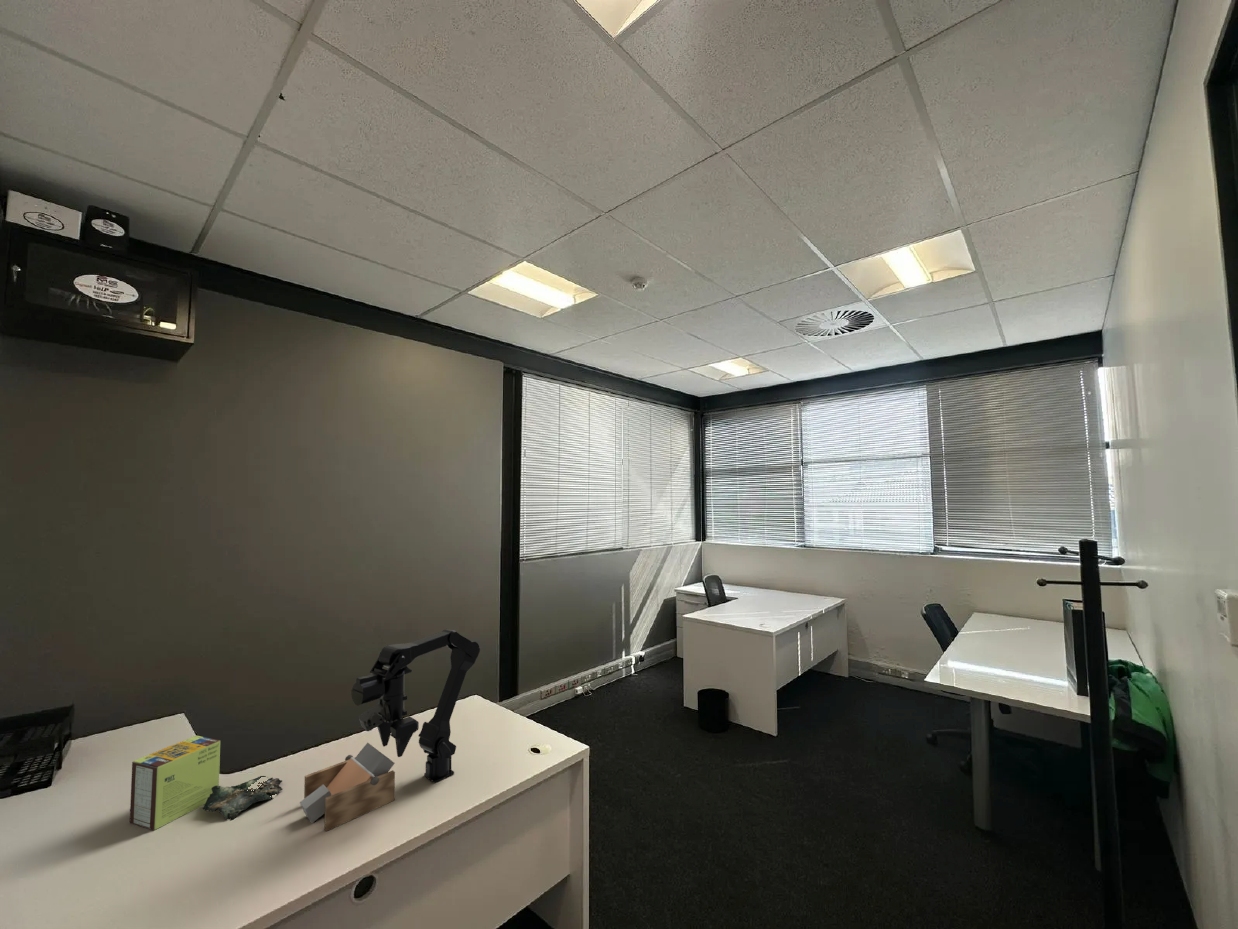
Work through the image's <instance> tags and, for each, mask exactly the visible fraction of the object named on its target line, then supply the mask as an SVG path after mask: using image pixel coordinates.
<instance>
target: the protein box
mask: <svg viewBox="0 0 1238 929" xmlns="http://www.w3.org/2000/svg"><path fill="white" fill-rule="evenodd" d="M220 755H221V740H220V739H215V738H210V737H206V736H200V735H194V736H191V737H189V738H187V739H185V740H182V741H180V742H177V743H175V744H172V745H169V746H167V747H164V748H162V749H159V750H158V751H155V752H151V753H149V754H147V755H145V756H141V757H140V758H137V759H134V760H133V761H132V762H131V763H132V764H131V779H130V780H131V781H130V782H131V784H130V786H131V787H130V788H131V789H130V804H129V805H130V806H129V807H130V808H129V824H132V825H136V826H138V827H139V826H140V827H143V828H146V829H149V830H152V831H156V830H157V829H160V828H162V827H164V826H165V825H167V824H169V823H171V822H173V821H176V820H177V819H179V818H181V817H182V816H185V815H187V814H189V813H190V812H193V811H194V810H196V809H198V808H200V807H202V806H204V805H205V803H206V801H207V798H208V797H209V796H210V794H212V793H213V792H212V787H214V786H220V764H221V762H220V761H221V756H220Z"/></svg>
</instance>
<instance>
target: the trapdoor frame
mask: <svg viewBox="0 0 1238 929" xmlns="http://www.w3.org/2000/svg"><path fill="white" fill-rule="evenodd" d="M351 757H353V758H354V759H355V757H356V756H353V755H352V754H348V755H347V756H345V759H344V760H343V761H341V762H339V763H335V764H333V765H330V766H328V767H325V768H321V769H320V770H317V771H314V772H312V773H308V774H305V775H304V788H303V789H304V790H303V791H304V792H303V794H304V795H303V799H305V798H306V797H307V796H309V795H310V794H311V793H313V792H314V791H315V790H317V789H318V788H319V787H320V786H322V785H323V784H324V786H325V787H326V788H327V787H328V785H329V784H330V783H331V782H332V780H333V779H334V778H335V777H336V775H337V774H338V773H339V772H340V771H341V769H342V768H343V767H344V766H345V764H346V763H347V762H348V761H349V760H350V758H351ZM395 773H396V772H395V771H394V770H389V772H388V773H385V774H383V775H380V776H378V777H377V776H374V777H373V778H372V779H370V780H368V781H366V782H363V783H361V784H358V785H356V786H353V787H351V788H348V789H346V790H344V791H341V792H339V793H336V794H334V795H331V796H329V797H327V798H325V813H324V830H325V832H327V831H330V830H333V829H334V828H336V827H337V828H338V826H341V825H343V824H346V823H347V822H350V821H353V820H355V819H357V818H359V817H361V816H363V815H365V814H367V813H370V812H372V811H374V810H376V809H378V808H380V807H383V806H385V805H387V804H389V803H391V802H393V801H395V797H396V796H395V794H396V793H395V790H396V789H395V788H396V787H395V786H396V783H395V781H396V780H395V779H396V778H395V777H396V776H395V775H396V774H395Z"/></svg>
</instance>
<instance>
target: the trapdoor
mask: <svg viewBox="0 0 1238 929" xmlns="http://www.w3.org/2000/svg"><path fill="white" fill-rule="evenodd" d="M354 757H355V759H354ZM395 764H396V763H395V762H394V760H391V759H390V758H389V757H388V756H386V755H385V754H383V753H382V752H381V751H380V750H379V749H377V748H376V747H374V746H373V745H372V744H370V743H369V742H367V743H366V744H365V745H364V746H363V747H362V749H361V750H360V751H359V752H358V754H357V755H356V756H353V757H351V758H350V760H349V761H348V762H347V763H346V764H345V766H344V767H343V768H342V769H341V771H340V772H339V773H338V774H337V775H336V777H335V778H334V779H333V780H332V782H331V783H330V784H329V785H328V787H327V789H328V790H329V791H330V793H331V795H334V794H336V793H339V792H341V791H344V790H346V789H348V788H351V787H353V786H356V785H358V784H361V783H363V782H366V781H368V780H370V779H372V778H373V777H374V776H377V777H378V776H380V775H383V774H385V773H388V772H390V771H391V769H392V768H393V766H394V765H395Z"/></svg>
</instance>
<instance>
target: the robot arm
mask: <svg viewBox="0 0 1238 929" xmlns="http://www.w3.org/2000/svg"><path fill="white" fill-rule="evenodd" d="M444 647H447V648H448V650H450V651H451V652H450V658H449V659H450V666H451V667H450V670H449V673H448V676H447V678H446V681H445V685H444V687H443V690H442V692H441V696H440V698H439V701H438V703H437V707H436V709H435V712H434V714H433V717H432V718H431V719H430V720H429V721H424V722H423V724H422V726H421V730H420V732H419V734H418V737H419V738H418V744H419V747H420V749H422V750H423V753H424V754H427V755H426V761H425V772H424V777H426V778H427V779H429V780H430V781H431V782H433V783H437V782H439V781H442V780H444V779H447V778H449V777H450V776H452V775H455V771H454V770H452V756H453V755H455V754H456V749H457V745H455V744H454V742H451V741H450V739H451V738H450V737H451V731H452V730H451V725H450V724H451V719H452V715H453V712H454V711H455V710H454V709H455V707H456V704H457V700H458V698H459V695H460V692H461V689H462V687H463V683H464V680H465V678H466V675H467V672H468V671H469V670H470V669H471V668H472V667H473V666H474V664H475V663H476V660H477V659H478V658H479V655H480V651H481V647H480V645H479V643H478V642H477V641H473V640H470V639H468V638H466V637H464V636H463V635H462V634H460V633H459V632H457V631H456V630H453V629H447V628H446V629H444V630H442V631H440V632H437V633H434V634H431V635H428V636H426V637H422V638H420V639H417V640H415V641H411V642H408V643H394V644H389V645H388V644H387V645H386V646H384V647H383V648H382V649H381V651H380V653H379V655H378V658H377V659H376V661H375V662H374V664H373V666H372V668H371V669H370V671H369V673H370V674H368V675H365V676H359V677H356V678H355V679H356V680H355V681H356V682H355V683H354V684H353V685H352V689H351V690H350V691H351V699H352V702H353V704H354V705H355V706H358V707H359V706H361V705H365V704H367V703H371V702H374V701H377V704H376V705H374V706H371V707H370V708H369V709H367V710H366V711H364V712H363V713H362V714H360V715H359V716H358V720H359V721H358V722H359V724H360V726H361V728H362V729H363V730H365V731H366V732H370V731H372V730H373V729H375V728H377V730H378V734H379V737H380V740H381V744H382V747H387V746H388V744H389V741H390V738H391V737H392V738H393V739H394V740H395V748H396V755H397V758H401V757H403V755H404V752H405V751H406V749H407V746H408V744H409V742H410V741H411V738H412V737H413V735H414V734H415V733H416V732H417V731H419V729H420V728H419V721H418V720H417V719H415V718H413V717H412V716H407V715H408V710H406V709H405V701H407V700H408V695H406V694H405V675H407V674H410V673H412V672H413V670H412V669H411V668H409V667H408V666H409V665H410V664H412V663H413V661H414V660H416V659H417V658H418V657H420V656H423V655H426V654H429V653H432V652H434V651H436V650H439V649H442V648H444ZM383 667H385V668H383ZM386 668H387V669H386ZM403 717H404V718H403Z"/></svg>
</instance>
